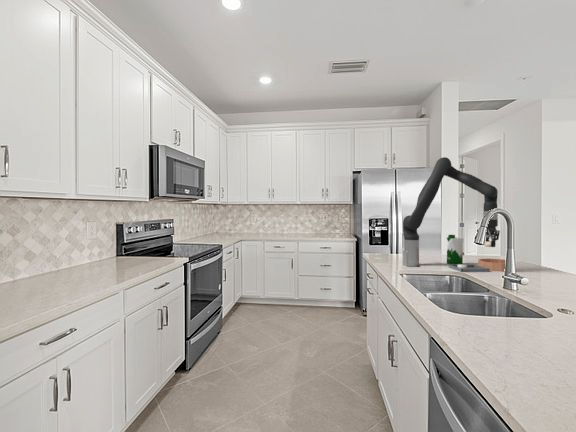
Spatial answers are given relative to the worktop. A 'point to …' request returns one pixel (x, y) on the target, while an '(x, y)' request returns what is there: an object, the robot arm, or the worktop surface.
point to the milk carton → (454, 250)
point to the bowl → (492, 264)
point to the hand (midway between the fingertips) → (490, 246)
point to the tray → (470, 268)
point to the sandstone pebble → (488, 244)
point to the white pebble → (462, 266)
